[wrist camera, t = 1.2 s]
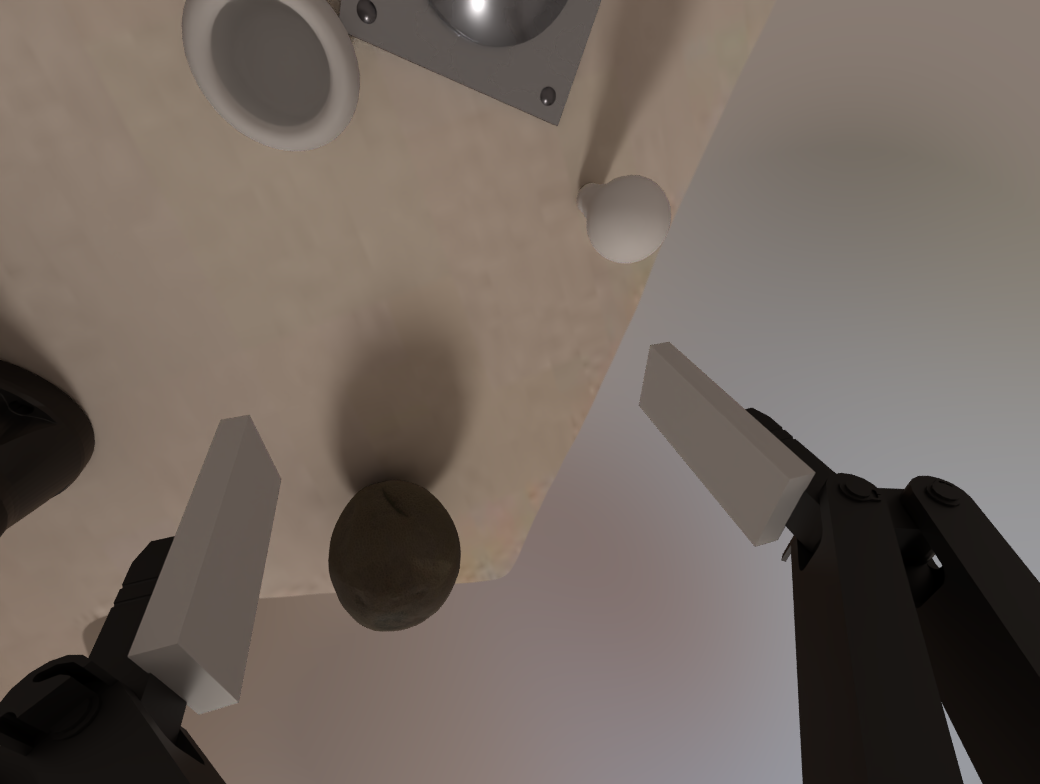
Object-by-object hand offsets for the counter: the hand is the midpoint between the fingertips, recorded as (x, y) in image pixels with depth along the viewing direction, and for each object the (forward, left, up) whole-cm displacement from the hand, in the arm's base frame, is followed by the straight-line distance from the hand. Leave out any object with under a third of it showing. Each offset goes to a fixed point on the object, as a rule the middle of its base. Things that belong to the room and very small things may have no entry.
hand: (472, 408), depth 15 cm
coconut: (+5, -34, -27) cm, 43 cm away
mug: (-11, +7, -27) cm, 30 cm away
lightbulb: (+14, +5, -27) cm, 31 cm away
